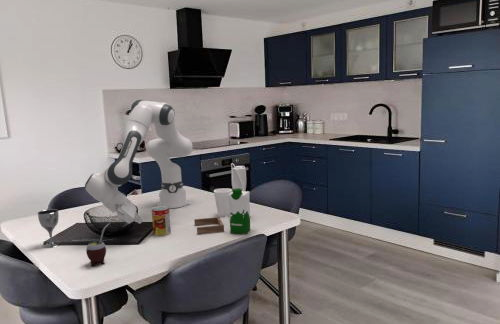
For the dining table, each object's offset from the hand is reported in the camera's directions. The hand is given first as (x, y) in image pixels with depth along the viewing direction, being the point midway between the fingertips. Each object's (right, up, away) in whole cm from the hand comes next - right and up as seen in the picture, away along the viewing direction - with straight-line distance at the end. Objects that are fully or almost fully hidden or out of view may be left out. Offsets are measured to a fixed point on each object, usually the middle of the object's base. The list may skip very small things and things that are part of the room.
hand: (141, 221), depth 191 cm
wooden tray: (+29, -4, +7) cm, 30 cm away
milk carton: (+45, -5, +1) cm, 45 cm away
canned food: (+9, -6, +3) cm, 11 cm away
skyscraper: (+44, -1, +22) cm, 50 cm away
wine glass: (-37, -9, -8) cm, 39 cm away
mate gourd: (-8, -12, -30) cm, 33 cm away
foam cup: (+36, -1, +30) cm, 46 cm away
